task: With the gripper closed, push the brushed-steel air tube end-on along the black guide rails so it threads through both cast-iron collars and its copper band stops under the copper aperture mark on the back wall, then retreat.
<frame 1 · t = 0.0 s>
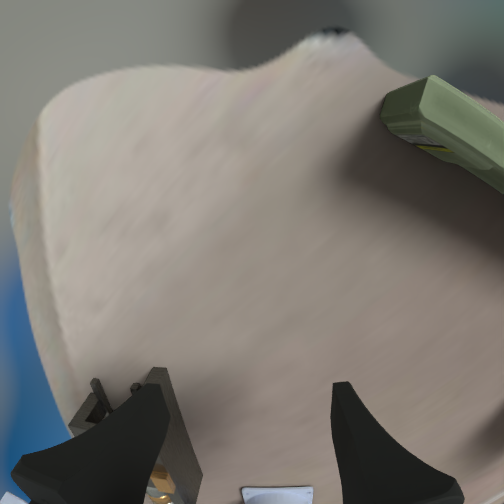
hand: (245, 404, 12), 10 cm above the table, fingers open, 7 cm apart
collar fixture: (152, 428, 27), on the table
air tube: (163, 481, 31), on the table
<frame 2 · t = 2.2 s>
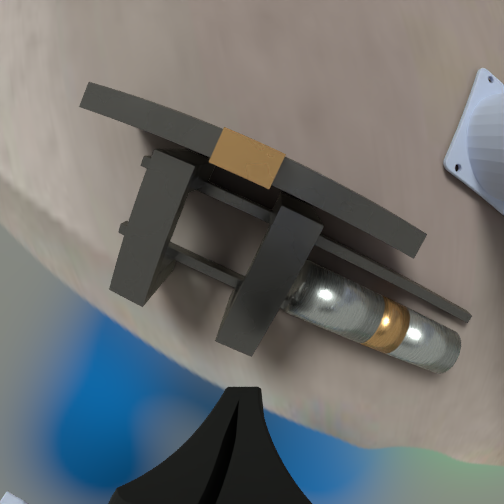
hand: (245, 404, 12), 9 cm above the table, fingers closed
collar fixture: (236, 203, 19), on the table
air tube: (379, 306, 20), on the table, tilted 18°
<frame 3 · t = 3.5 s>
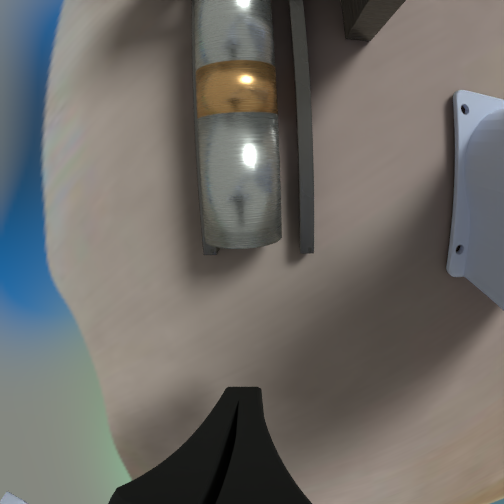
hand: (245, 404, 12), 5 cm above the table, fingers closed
air tube: (252, 98, 13), on the table, tilted 18°, touching collar fixture
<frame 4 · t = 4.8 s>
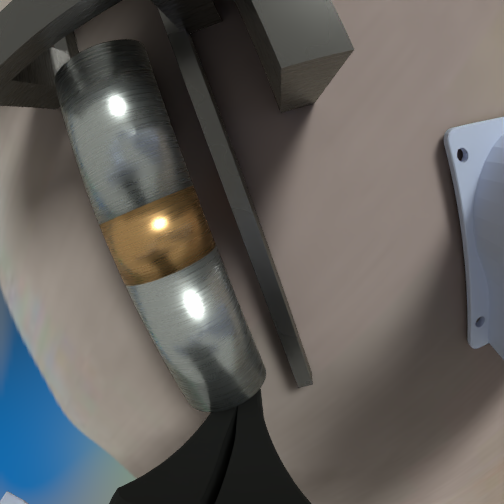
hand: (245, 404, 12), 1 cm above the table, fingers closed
air tube: (184, 218, 11), on the table, tilted 18°, touching gripper
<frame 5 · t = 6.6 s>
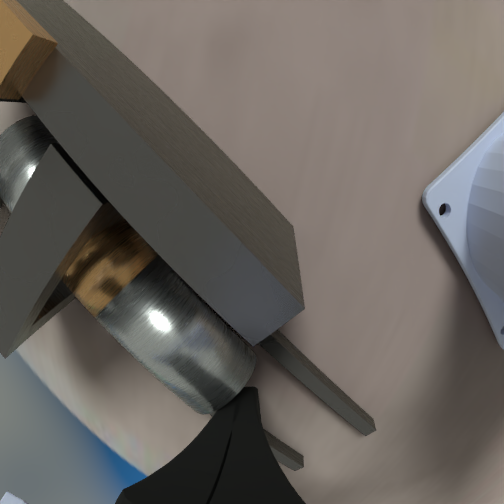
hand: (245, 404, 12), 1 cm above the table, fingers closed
collar fixture: (80, 141, 11), on the table
air tube: (130, 246, 12), on the table, tilted 10°, touching gripper
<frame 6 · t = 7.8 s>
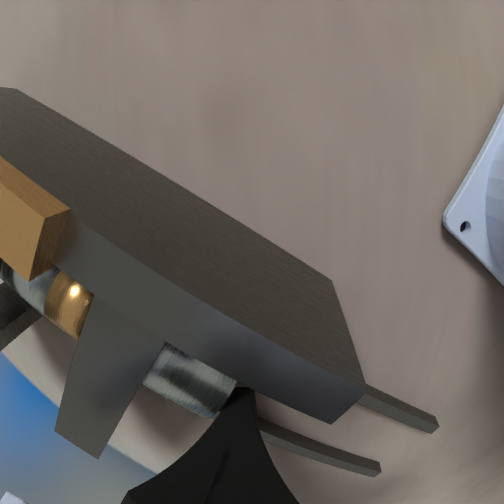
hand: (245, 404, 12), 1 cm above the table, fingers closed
collar fixture: (105, 244, 12), on the table
air tube: (108, 280, 12), on the table, touching gripper
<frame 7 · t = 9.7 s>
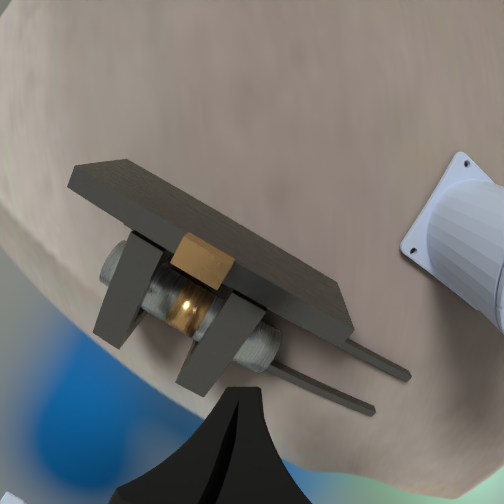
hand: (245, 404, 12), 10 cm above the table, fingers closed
collar fixture: (204, 265, 21), on the table
air tube: (200, 289, 21), on the table, tilted 39°
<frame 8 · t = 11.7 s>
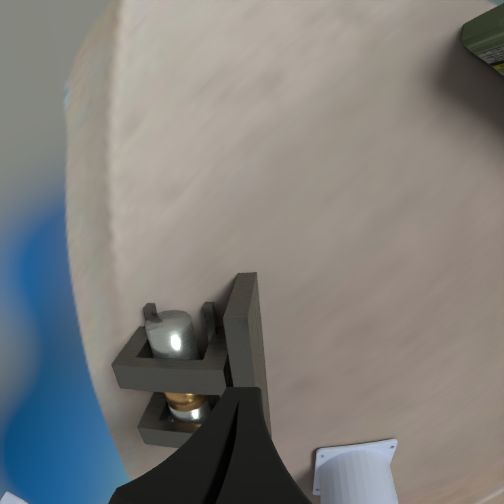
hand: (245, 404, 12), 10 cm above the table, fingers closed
collar fixture: (218, 370, 24), on the table
air tube: (200, 379, 24), on the table, tilted 39°
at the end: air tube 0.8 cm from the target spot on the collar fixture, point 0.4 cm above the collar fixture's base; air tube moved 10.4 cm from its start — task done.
